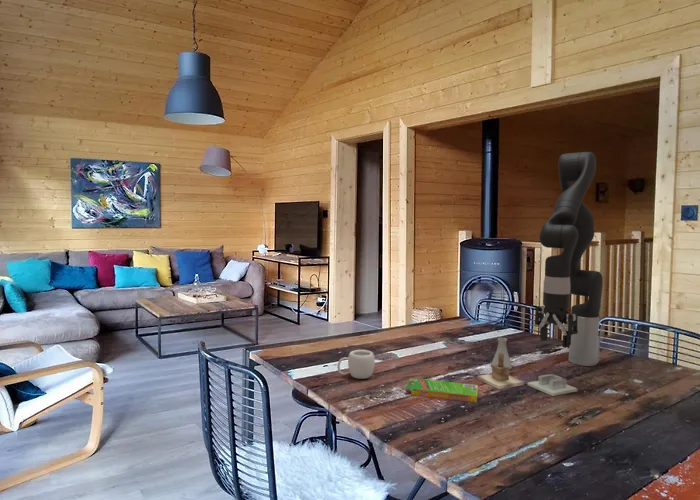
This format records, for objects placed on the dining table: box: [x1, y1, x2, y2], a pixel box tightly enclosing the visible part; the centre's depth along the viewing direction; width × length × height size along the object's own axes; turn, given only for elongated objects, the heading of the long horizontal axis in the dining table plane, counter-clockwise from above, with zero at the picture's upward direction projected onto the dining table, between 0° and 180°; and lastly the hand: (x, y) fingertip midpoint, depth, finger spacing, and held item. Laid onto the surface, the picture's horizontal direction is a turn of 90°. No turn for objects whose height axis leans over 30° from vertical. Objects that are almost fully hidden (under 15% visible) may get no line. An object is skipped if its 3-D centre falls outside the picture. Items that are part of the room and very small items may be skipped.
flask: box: [490, 337, 513, 370], centre depth 175 cm, size 7×7×10 cm
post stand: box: [476, 353, 525, 390], centre depth 159 cm, size 10×10×9 cm
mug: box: [336, 349, 376, 380], centre depth 163 cm, size 12×8×8 cm
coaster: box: [527, 380, 578, 397], centre depth 155 cm, size 10×10×1 cm
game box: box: [405, 377, 479, 403], centre depth 150 cm, size 3×10×20 cm
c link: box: [537, 373, 567, 390], centre depth 155 cm, size 6×6×2 cm
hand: (554, 343), depth 154 cm, fingers open, 8 cm apart
